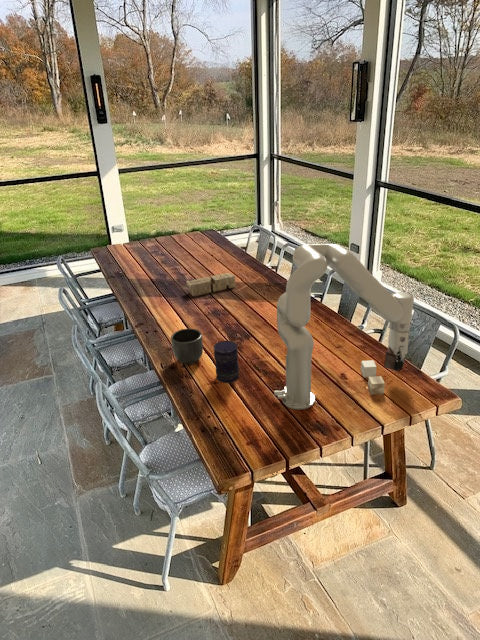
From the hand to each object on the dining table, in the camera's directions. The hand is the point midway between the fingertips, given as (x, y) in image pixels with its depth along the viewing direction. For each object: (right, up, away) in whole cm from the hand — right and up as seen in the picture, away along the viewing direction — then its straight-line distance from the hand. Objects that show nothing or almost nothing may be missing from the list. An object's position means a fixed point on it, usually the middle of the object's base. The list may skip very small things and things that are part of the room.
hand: (394, 363), depth 184 cm
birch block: (-8, -11, -1) cm, 13 cm away
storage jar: (-67, -7, +14) cm, 69 cm away
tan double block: (-79, +35, +101) cm, 133 cm away
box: (0, -1, +1) cm, 2 cm away
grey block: (-8, -5, +10) cm, 13 cm away
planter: (-85, -1, +28) cm, 89 cm away
